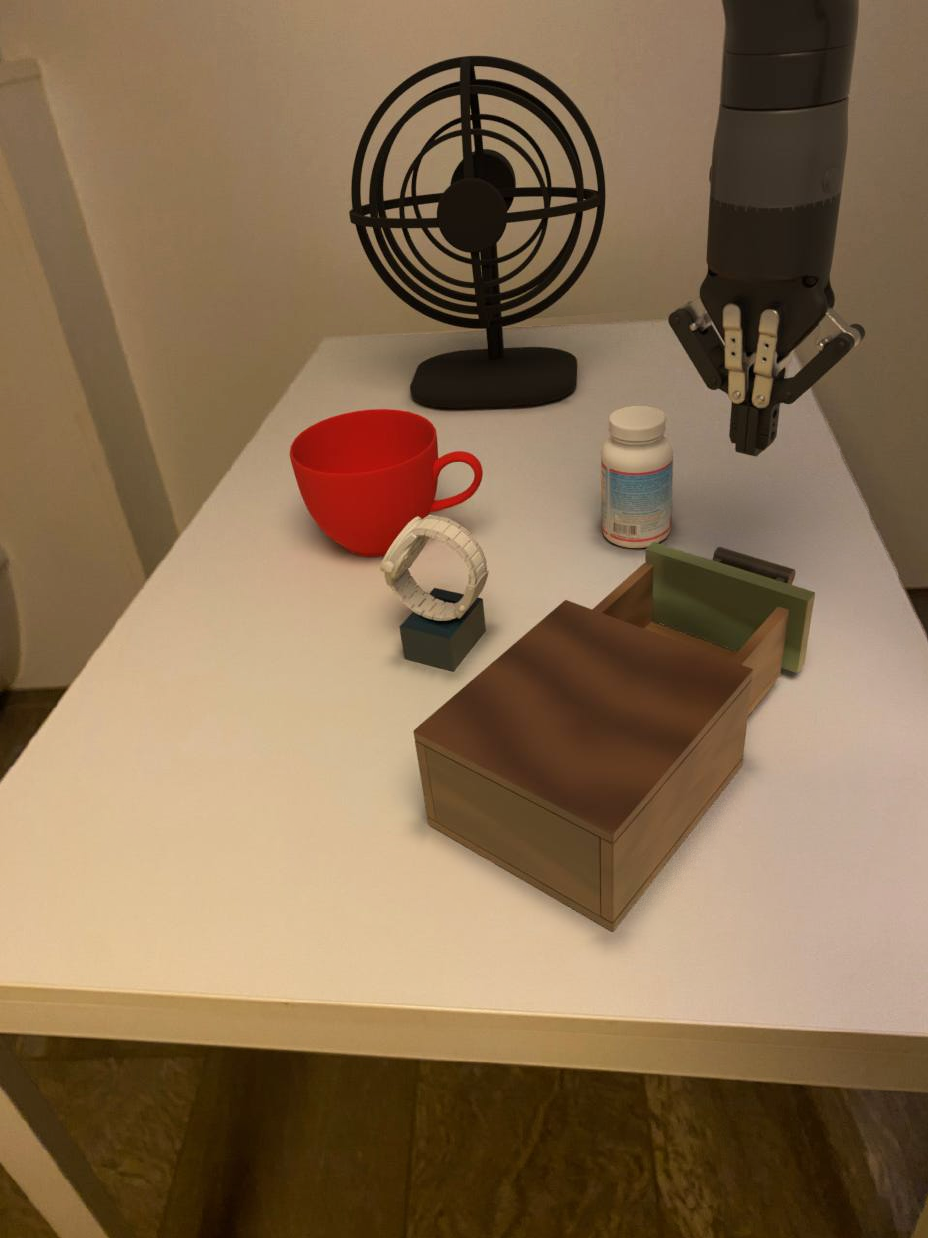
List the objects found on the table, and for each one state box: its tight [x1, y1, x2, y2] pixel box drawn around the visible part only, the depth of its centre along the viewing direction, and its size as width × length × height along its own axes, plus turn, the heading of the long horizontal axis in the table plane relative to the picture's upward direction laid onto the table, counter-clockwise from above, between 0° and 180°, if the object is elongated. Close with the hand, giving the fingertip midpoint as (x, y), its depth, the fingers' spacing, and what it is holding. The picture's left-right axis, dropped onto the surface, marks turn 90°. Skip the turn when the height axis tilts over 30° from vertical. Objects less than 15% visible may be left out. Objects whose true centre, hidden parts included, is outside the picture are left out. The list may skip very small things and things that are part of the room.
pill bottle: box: [600, 405, 674, 549], centre depth 83 cm, size 6×6×11 cm
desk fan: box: [348, 55, 607, 409], centre depth 105 cm, size 27×18×35 cm, turn 84°
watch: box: [379, 514, 490, 672], centre depth 72 cm, size 6×8×11 cm
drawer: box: [591, 542, 816, 716], centre depth 67 cm, size 19×12×6 cm, turn 141°
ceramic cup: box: [289, 408, 484, 557], centre depth 86 cm, size 13×17×10 cm
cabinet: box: [412, 599, 753, 932], centre depth 59 cm, size 16×14×8 cm
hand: (750, 449), depth 67 cm, fingers closed
